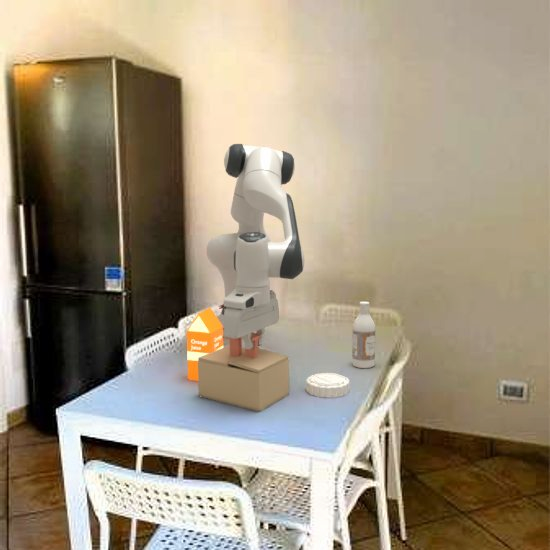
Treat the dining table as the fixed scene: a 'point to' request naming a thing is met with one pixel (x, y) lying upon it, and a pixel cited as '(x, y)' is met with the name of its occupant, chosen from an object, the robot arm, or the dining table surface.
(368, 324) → the bath foam
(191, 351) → the orange juice
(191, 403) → the dining table surface
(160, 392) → the dining table surface
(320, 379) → the mooncake
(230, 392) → the carton
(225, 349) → the flap left
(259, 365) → the flap right
